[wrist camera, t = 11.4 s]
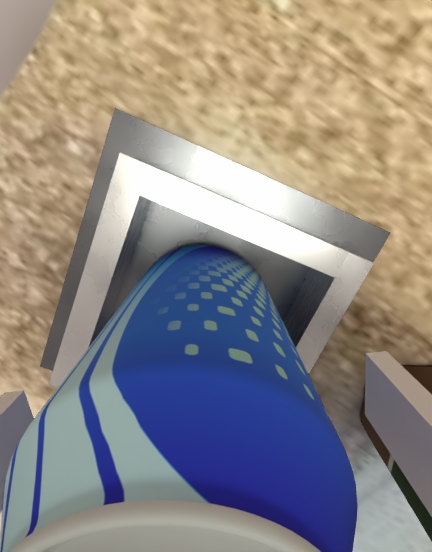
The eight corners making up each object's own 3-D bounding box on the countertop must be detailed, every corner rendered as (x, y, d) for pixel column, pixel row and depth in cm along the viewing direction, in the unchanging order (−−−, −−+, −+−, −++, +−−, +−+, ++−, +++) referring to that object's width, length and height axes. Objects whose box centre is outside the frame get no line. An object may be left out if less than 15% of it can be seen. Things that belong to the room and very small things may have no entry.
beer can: (114, 298, 20) (-191, 648, 5) (207, 212, 19) (172, 348, 3) (200, 378, 22) (166, 812, 7) (291, 306, 21) (512, 668, 5)
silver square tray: (264, 433, 25) (274, 485, 21) (47, 358, 23) (8, 399, 19) (382, 230, 20) (427, 243, 16) (120, 111, 18) (90, 89, 14)
